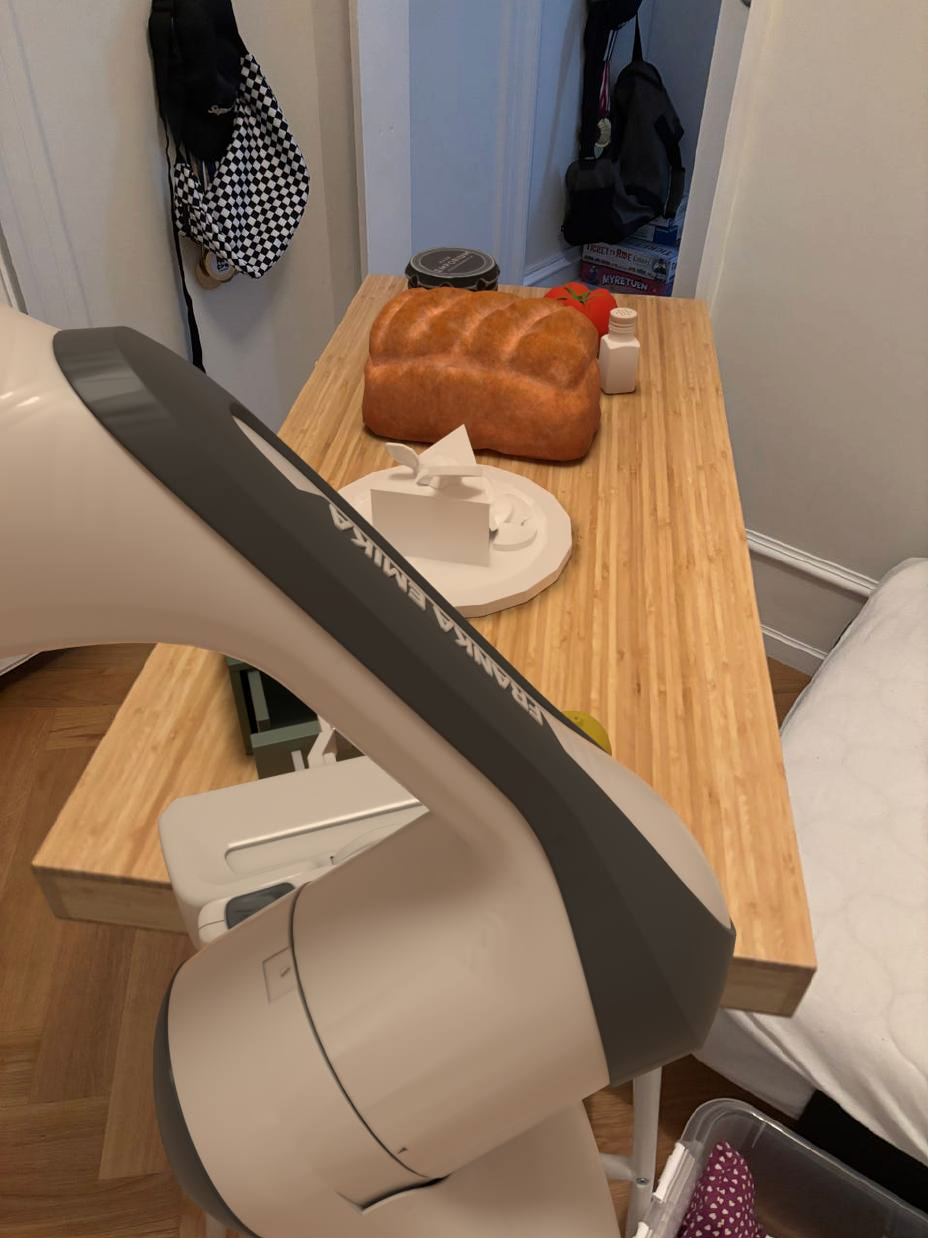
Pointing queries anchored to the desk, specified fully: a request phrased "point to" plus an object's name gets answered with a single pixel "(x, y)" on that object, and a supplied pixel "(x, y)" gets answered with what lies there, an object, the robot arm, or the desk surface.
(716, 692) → the desk surface
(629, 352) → the pepper shaker
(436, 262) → the container
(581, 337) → the bread
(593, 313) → the tomato
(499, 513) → the dish
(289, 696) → the drawer
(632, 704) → the desk surface
